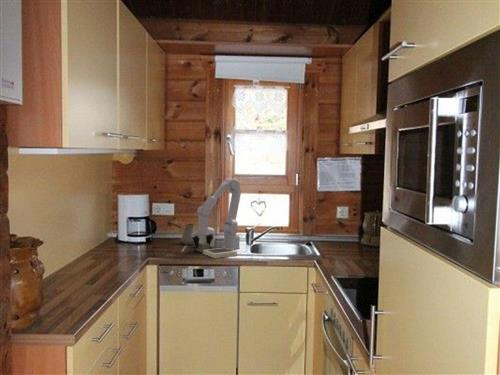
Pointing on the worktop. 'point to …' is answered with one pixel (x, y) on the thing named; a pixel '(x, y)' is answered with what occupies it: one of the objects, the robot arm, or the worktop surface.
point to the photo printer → (203, 238)
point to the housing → (203, 246)
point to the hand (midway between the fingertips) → (202, 248)
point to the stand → (220, 252)
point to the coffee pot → (187, 233)
